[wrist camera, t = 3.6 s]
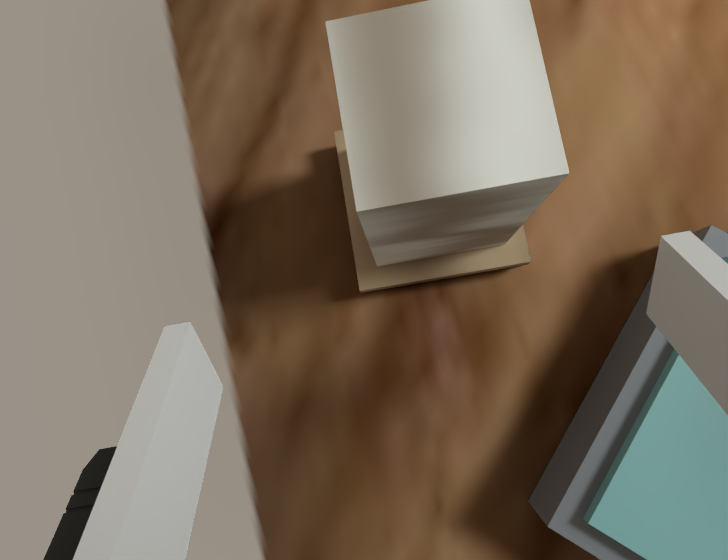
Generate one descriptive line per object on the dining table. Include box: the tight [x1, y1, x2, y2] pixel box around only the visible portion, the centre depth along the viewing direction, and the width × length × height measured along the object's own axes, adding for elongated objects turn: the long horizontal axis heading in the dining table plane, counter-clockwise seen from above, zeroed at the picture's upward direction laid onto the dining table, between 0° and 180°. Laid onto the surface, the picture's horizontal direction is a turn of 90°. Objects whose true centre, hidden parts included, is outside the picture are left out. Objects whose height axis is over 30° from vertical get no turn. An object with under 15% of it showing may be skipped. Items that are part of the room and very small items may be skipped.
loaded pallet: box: [326, 0, 569, 293], centre depth 20 cm, size 8×8×11 cm
